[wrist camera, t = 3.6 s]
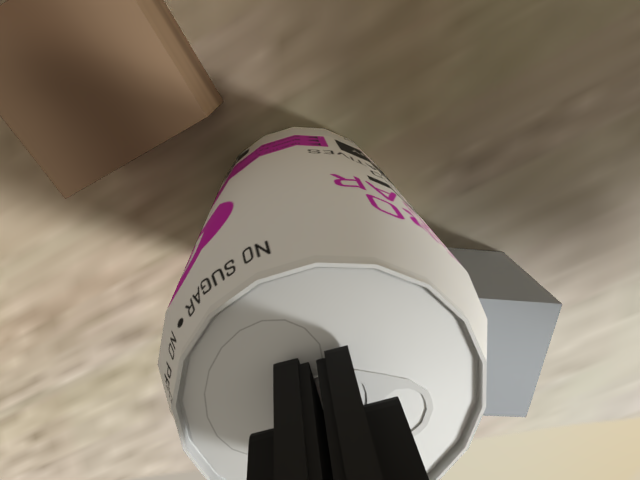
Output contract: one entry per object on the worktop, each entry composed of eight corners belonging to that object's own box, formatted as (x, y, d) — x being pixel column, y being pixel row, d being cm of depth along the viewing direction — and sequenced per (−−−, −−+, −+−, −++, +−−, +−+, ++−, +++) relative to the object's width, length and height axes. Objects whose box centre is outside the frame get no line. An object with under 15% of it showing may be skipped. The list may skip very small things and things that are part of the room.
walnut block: (146, -29, 21) (99, -58, 15) (223, 101, 23) (207, 117, 17) (29, 44, 21) (-57, 41, 16) (115, 164, 24) (65, 198, 18)
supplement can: (208, 265, 26) (123, 522, 12) (238, 106, 23) (173, 191, 9) (359, 294, 27) (444, 556, 13) (403, 145, 24) (572, 273, 10)
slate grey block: (502, 251, 27) (562, 304, 21) (477, 346, 29) (526, 417, 23) (395, 242, 26) (427, 294, 21) (377, 340, 28) (402, 411, 23)
